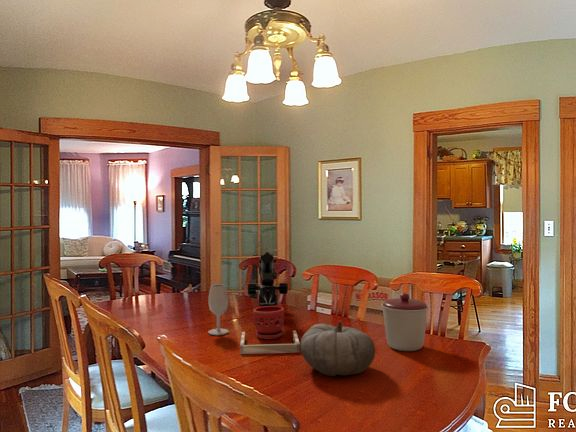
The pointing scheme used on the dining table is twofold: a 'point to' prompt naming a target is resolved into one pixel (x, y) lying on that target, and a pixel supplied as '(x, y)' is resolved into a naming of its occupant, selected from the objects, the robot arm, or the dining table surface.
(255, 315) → the plant pot
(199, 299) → the dining table surface
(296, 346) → the frame
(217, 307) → the wineglass
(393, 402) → the dining table surface
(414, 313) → the canister
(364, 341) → the gourd
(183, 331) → the dining table surface
